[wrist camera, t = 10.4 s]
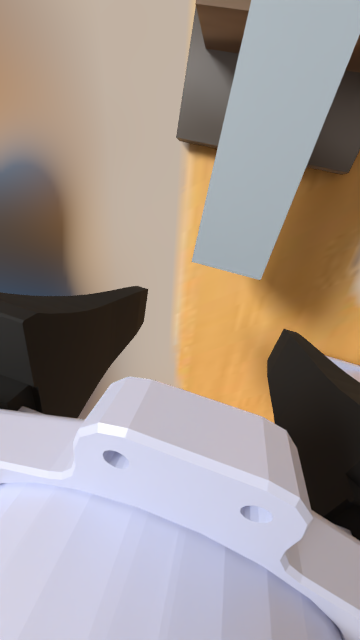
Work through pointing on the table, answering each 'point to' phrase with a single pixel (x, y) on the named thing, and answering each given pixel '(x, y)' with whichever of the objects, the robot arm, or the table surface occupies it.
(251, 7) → the batten
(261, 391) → the table surface
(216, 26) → the fulcrum
